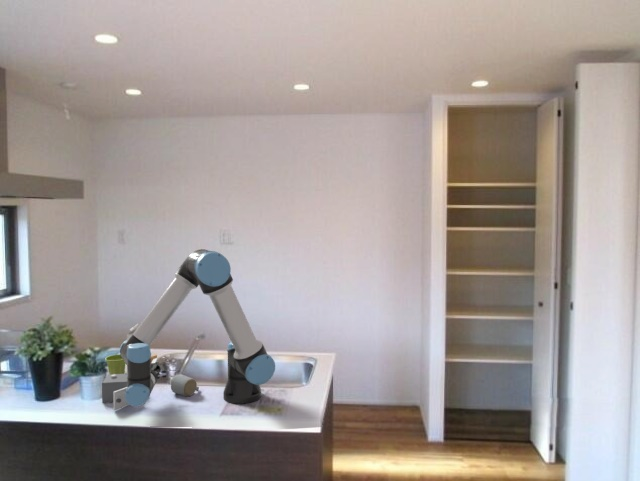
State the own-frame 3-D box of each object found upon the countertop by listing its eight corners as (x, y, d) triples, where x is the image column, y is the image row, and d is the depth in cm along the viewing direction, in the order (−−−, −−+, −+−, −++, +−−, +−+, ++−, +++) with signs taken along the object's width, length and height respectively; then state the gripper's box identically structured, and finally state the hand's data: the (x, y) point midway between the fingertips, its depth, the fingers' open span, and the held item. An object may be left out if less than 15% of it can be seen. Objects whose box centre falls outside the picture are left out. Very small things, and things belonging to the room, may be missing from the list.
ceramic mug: (185, 399, 200) (185, 380, 200) (170, 395, 204) (170, 376, 204) (203, 391, 210) (203, 373, 209) (189, 387, 214) (189, 370, 213)
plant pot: (114, 381, 221) (114, 361, 220) (101, 377, 225) (100, 358, 225) (132, 375, 229) (132, 356, 228) (118, 371, 234) (118, 353, 233)
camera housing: (143, 391, 208) (143, 371, 207) (138, 401, 198) (138, 379, 197) (108, 393, 206) (108, 372, 205) (102, 402, 196) (101, 380, 195)
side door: (155, 393, 205) (155, 354, 204) (159, 394, 204) (158, 355, 203) (113, 410, 188) (112, 368, 187) (116, 411, 187) (116, 368, 186)
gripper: (125, 392, 179) (139, 371, 202) (163, 390, 181) (172, 369, 204) (125, 371, 178) (138, 352, 201) (163, 370, 180) (172, 351, 203)
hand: (155, 361), depth 203 cm, fingers closed
